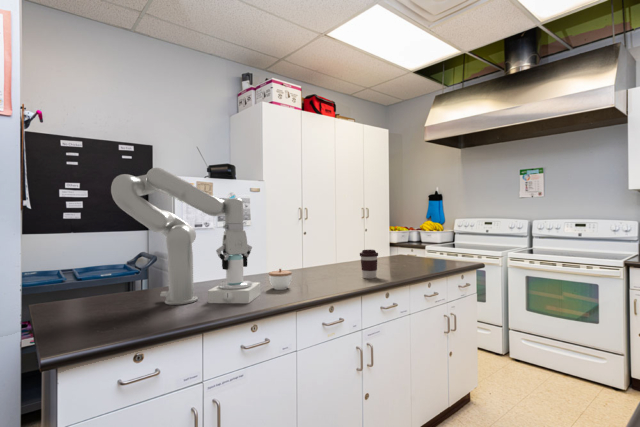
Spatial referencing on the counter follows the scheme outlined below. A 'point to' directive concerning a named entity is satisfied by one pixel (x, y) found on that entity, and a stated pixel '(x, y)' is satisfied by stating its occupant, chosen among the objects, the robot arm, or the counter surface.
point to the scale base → (234, 294)
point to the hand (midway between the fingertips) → (235, 267)
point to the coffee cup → (369, 263)
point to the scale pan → (235, 285)
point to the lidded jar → (280, 279)
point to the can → (234, 269)
